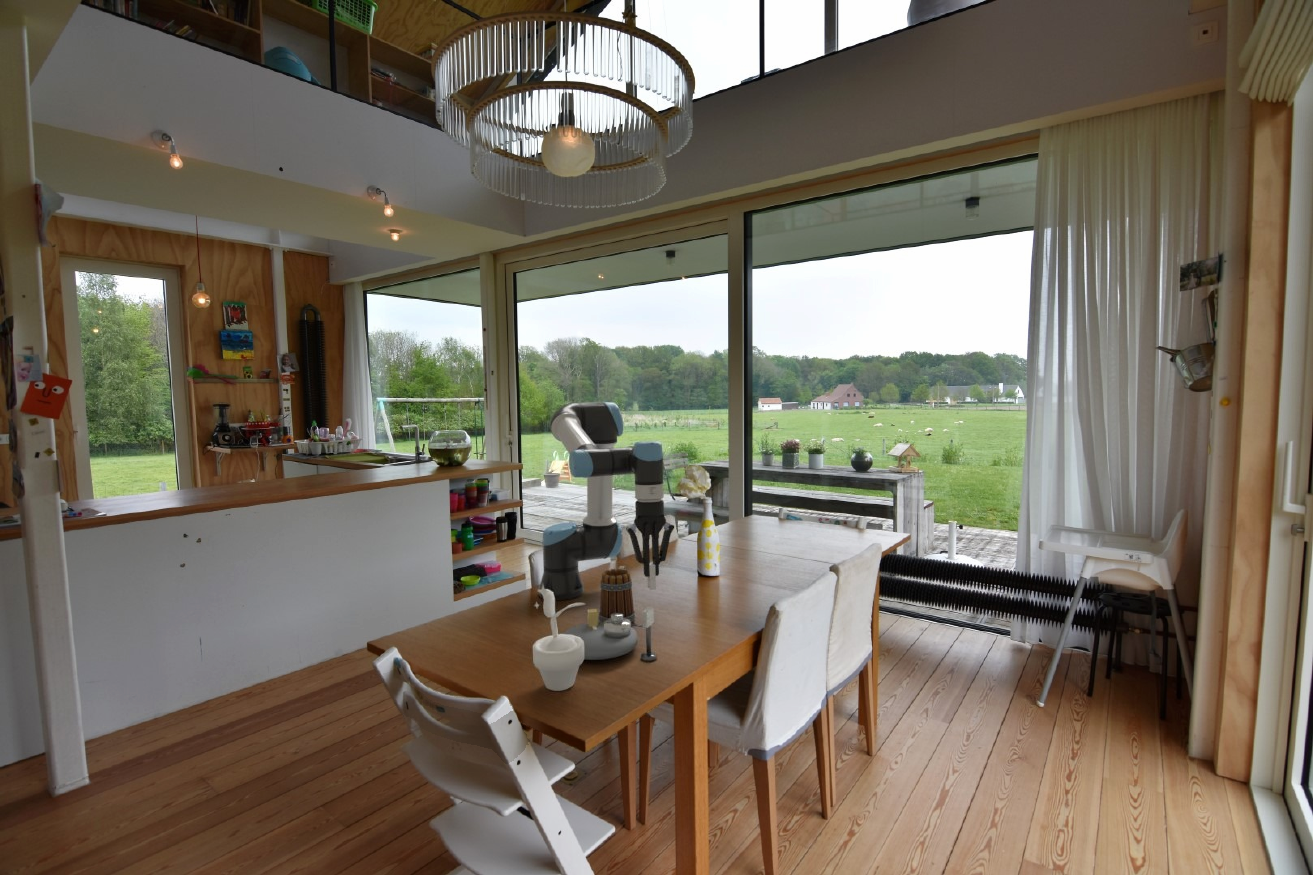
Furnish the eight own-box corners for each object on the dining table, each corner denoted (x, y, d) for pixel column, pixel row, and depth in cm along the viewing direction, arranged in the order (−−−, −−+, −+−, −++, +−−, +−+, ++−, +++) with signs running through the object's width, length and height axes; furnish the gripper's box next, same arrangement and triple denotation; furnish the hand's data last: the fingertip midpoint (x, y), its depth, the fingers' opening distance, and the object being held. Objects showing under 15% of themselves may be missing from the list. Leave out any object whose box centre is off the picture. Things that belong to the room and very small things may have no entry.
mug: (630, 630, 173) (629, 578, 172) (594, 628, 175) (593, 576, 174) (642, 611, 188) (641, 563, 187) (609, 609, 190) (608, 562, 189)
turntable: (555, 634, 166) (554, 612, 166) (627, 625, 172) (626, 604, 171) (565, 664, 147) (564, 640, 146) (646, 653, 152) (645, 629, 152)
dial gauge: (659, 656, 155) (658, 607, 154) (652, 662, 151) (651, 612, 150) (635, 652, 157) (634, 604, 157) (628, 658, 154) (627, 609, 153)
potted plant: (523, 693, 137) (520, 583, 135) (550, 671, 147) (547, 569, 146) (573, 701, 132) (570, 588, 131) (597, 678, 143) (595, 573, 141)
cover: (601, 630, 163) (601, 612, 162) (627, 627, 165) (626, 609, 164) (607, 640, 156) (606, 621, 156) (633, 636, 158) (633, 617, 158)
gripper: (628, 503, 156) (631, 594, 157) (677, 500, 159) (679, 589, 160) (622, 499, 163) (624, 586, 164) (668, 496, 166) (670, 581, 168)
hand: (651, 587), depth 162 cm, fingers closed
